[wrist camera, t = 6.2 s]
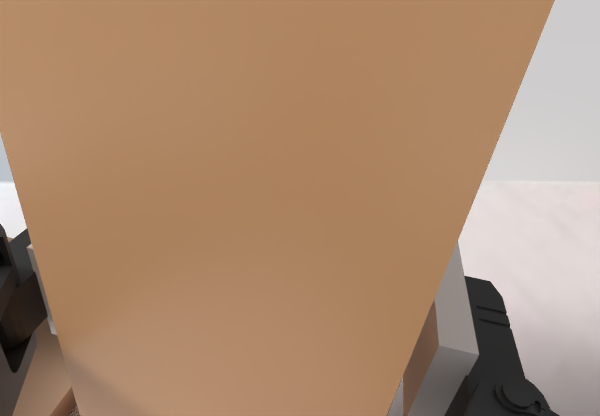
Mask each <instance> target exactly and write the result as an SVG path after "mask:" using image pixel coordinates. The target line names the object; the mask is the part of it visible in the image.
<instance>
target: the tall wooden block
mask: <svg viewBox="0 0 600 416" xmlns="http://www.w3.org/2000/svg"><path fill="white" fill-rule="evenodd" d="M554 1H555V0H0V133H1V136H2V140H3V144H4V147H5V151H6V154H7V158H8V162H9V165H10V169H11V172H12V176H13V179H14V183H15V186H16V190H17V194H18V197H19V201H20V204H21V208H22V211H23V215H24V219H25V222H26V226H27V229H28V233H29V236H30V240H31V243H32V247H33V251H34V254H35V258H36V261H37V265H38V268H39V272H40V276H41V279H42V283H43V286H44V290H45V293H46V297H47V300H48V304H49V308H50V311H51V315H52V318H53V322H54V325H55V329H56V333H57V336H58V340H59V343H60V347H61V350H62V354H63V357H64V361H65V365H66V368H67V372H68V375H69V379H70V382H71V386H72V390H73V393H74V397H75V400H76V404H77V407H78V411H79V415H80V416H387V414H388V412H389V409H390V407H391V404H392V402H393V399H394V397H395V394H396V392H397V389H398V387H399V384H400V382H401V380H402V377H403V375H404V372H405V370H406V367H407V365H408V362H409V360H410V357H411V355H412V352H413V350H414V347H415V345H416V342H417V340H418V337H419V335H420V332H421V330H422V328H423V325H424V323H425V320H426V318H427V315H428V313H429V310H430V308H431V305H432V303H433V300H434V298H435V295H436V293H437V290H438V288H439V285H440V283H441V280H442V278H443V276H444V273H445V271H446V268H447V266H448V263H449V261H450V258H451V256H452V253H453V251H454V248H455V246H456V243H457V241H458V238H459V236H460V233H461V231H462V228H463V226H464V224H465V221H466V219H467V216H468V214H469V211H470V209H471V206H472V204H473V201H474V199H475V196H476V194H477V191H478V189H479V186H480V184H481V181H482V179H483V176H484V174H485V171H486V169H487V167H488V164H489V162H490V159H491V157H492V154H493V151H494V149H495V147H496V144H497V142H498V139H499V137H500V134H501V132H502V129H503V127H504V124H505V122H506V120H507V117H508V115H509V112H510V110H511V107H512V105H513V102H514V99H515V97H516V95H517V92H518V90H519V87H520V85H521V82H522V80H523V77H524V75H525V72H526V70H527V67H528V65H529V63H530V60H531V58H532V55H533V53H534V50H535V48H536V45H537V43H538V40H539V38H540V35H541V33H542V30H543V28H544V25H545V23H546V20H547V18H548V16H549V13H550V10H551V8H552V5H553V3H554Z"/></svg>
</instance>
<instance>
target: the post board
mask: <svg viewBox="0 0 600 416" xmlns="http://www.w3.org/2000/svg"><path fill="white" fill-rule="evenodd" d="M7 239H8V242H10V241H11V240H13V238H8V237H7ZM36 331H37V334H38V344H37V347H36V349H35V352H34V355H33V358H32V361H31V364H30V366H29V369H28V372H27V375H26V378H25V381H24V384H23V386H22V389H21V392H20V395H19V398H18V401H17V404H16V406H15V409H14V412H13V415H12V416H68V415H69V413H70V412H71V411H72V409H73V408H74V406H75V405H76V400H75V397H74V393H73V390H72V386H71V382H70V379H69V375H68V372H67V368H66V365H65V361H64V357H63V354H62V350H61V347H60V343H59V340H58V336H57V335H55V334H52V333H51V330H50V326H49V323H48V319H47V318H46V319H45V320H44V321H43V322H42V323H41V324H40V325H39V326H38V327H37V328H36Z"/></svg>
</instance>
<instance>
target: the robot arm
mask: <svg viewBox="0 0 600 416" xmlns="http://www.w3.org/2000/svg"><path fill="white" fill-rule="evenodd" d="M506 313H507V312H506V309H505V305H504V302H503V298H502V296H501V295H500V293H499V292H498V291H497V290H496V288H495V287H494V286H493V284H492V283H491V282H490V281H486V280H481V279H477V278H472V277H468V276H464V272H463V266H462V261H461V256H460V250H459V245H458V241H457V243H456V246H455V248H454V251H453V253H452V256H451V258H450V261H449V263H448V266H447V268H446V271H445V273H444V276H443V278H442V280H441V283H440V285H439V288H438V290H437V293H436V295H435V298H434V300H433V303H432V305H431V308H430V310H429V313H428V315H427V318H426V320H425V323H424V325H423V328H422V330H421V332H420V335H419V337H418V340H417V342H416V345H415V347H414V350H413V352H412V355H411V357H410V360H409V362H408V365H407V367H406V370H405V372H404V375H403V405H404V416H559V415H557V414H556V413H554V412H553V411H551V410H550V407H549V405H548V403H547V401H546V399H545V397H544V395H543V394H542V393H541V392H540V391H539V390H538V389H537V388H536V387H535V385H534V384H532V383H531V382H529V381H528V380H527V379H525V376H524V372H523V369H522V365H521V362H520V358H519V355H518V351H517V348H516V344H515V341H514V337H513V333H512V330H511V329H510V323H509V319H508V316H507V315H506ZM46 318H47V319H48V323H49V326H50V330H51V333H52V334H55V335H57V333H56V329H55V325H54V322H53V318H52V315H51V311H50V308H49V304H48V300H47V297H46V293H45V290H44V286H43V283H42V279H41V276H40V272H39V268H38V265H37V261H36V258H35V254H34V251H33V247H32V243H31V240H30V236H29V233H28V229H26V230H24V231H23V232H22V233H20V234H19V235H18V236H16V237H15V238H14V239H13V240H11V241H10V242H8V239H7V236H6V233H5V230H4V228H3V227H2V226H1V224H0V416H12V415H13V412H14V409H15V406H16V404H17V401H18V398H19V395H20V392H21V389H22V386H23V384H24V381H25V378H26V375H27V372H28V369H29V366H30V364H31V361H32V358H33V355H34V352H35V349H36V347H37V344H38V334H37V331H36V328H37V327H38V326H39V325H40V324H41V323H42V322H43V321H44V320H45V319H46Z"/></svg>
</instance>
